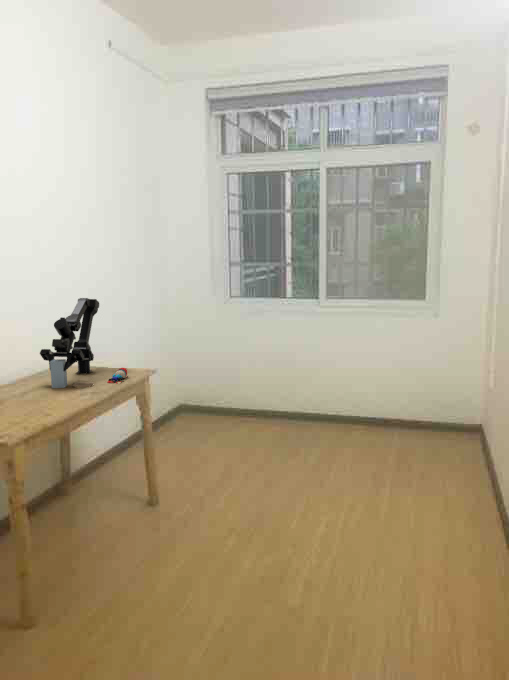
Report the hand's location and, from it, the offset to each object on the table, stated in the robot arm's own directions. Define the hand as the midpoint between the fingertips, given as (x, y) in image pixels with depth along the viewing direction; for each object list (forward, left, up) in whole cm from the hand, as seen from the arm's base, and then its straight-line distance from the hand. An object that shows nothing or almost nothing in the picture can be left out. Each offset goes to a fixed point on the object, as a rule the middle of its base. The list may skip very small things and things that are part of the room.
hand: (57, 370), depth 246 cm
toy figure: (-13, +24, -8) cm, 29 cm away
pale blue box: (-1, 0, -8) cm, 8 cm away
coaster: (-3, +10, -8) cm, 13 cm away
